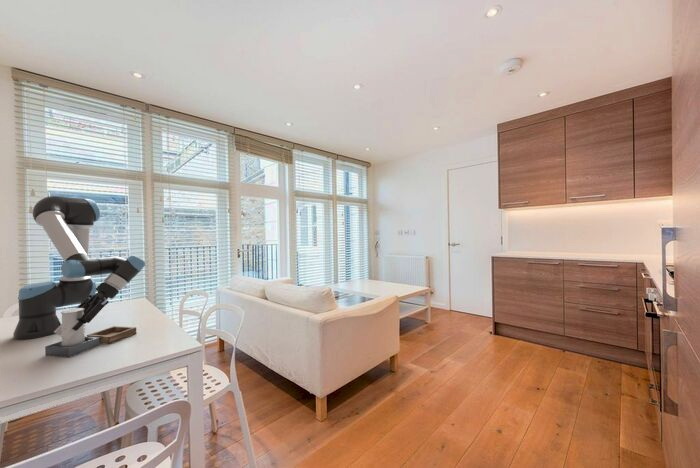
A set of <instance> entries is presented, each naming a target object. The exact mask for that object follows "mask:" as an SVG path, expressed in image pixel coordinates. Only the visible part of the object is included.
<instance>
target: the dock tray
mask: <svg viewBox="0 0 700 468" xmlns="http://www.w3.org/2000/svg"><path fill="white" fill-rule="evenodd" d="M134 335H137V327H136V326H123V325H122V326H119V325H113V326H110V327H108V328H104V329H101V330H99V331H96V332H93V333H89V334H86V337H98V338H99V344H104V345H105V344H107V345H112V344H115V343H116V342H119V341H121V340H124V339H127V338H130V337H132V336H134Z"/></svg>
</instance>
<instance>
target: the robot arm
mask: <svg viewBox="0 0 700 468" xmlns="http://www.w3.org/2000/svg"><path fill="white" fill-rule="evenodd" d="M32 218H33V221H35V222H36V224H37V225H38V226H40V227H42V228H43V230H44V231H45V233H46V234H47V237H48V238H49V239H50V241H51V244H53V246H54V247H55V249H56V250H57V252H58V254H59V255H60V257H61V258H62V260H63V263H61V267H60V270H61V274H62V275H61V276H60V277H59V279H58V280H59V282H57V283H56V281H53V280H52V281H51V280H50V281H42V282H36V283H31V284H28V285H24V286H23V287H21V288H19V290H18V297H17V300H18V322H17V324H16V327H15V329H14V331H13V335H12V336H13V339H14V340H18V341H19V340H30V339H31V340H32V339H36V338H42V337H46V336H50V335H53V334H56V335H58V336H60V337H61V336H63V337H65V338H67V339H69V338H70V337H71V336H72V335H73V334H74V333H75V332H76V331H77V330H78V329H79V328H80V327H81V326H82V325H83V324H84V325H85V324H86V323H88V324H89V323H90V322H91V321H92V320H94V318H95V317H96V316H97V315H98V314H99V313H100V311H102V309H103V308H104V307H106V306H107V305H108V304H109V303H110V301H109V300H108V298H109V299H114V298H115V297H116V296H117V295H118V294H119V292H120V291H122V290H123V289H124V288H126V287H127V285H128V284H129V283H130V282H131V281H132V280H133V279H134V278H135V277H136V276H137V275H138V274H139V273H140V272H141V271H142V270H143V268H145V266H146V262H145V261H144V260H143V259H142V258H140V257H139V256H137V255H135V254H132V255H130V256H128V257H127V258H123V257H120V256H118V255H112V254H111V255H110V254H109V255H106V256H103V257H95V258H94V257H93V258H90V257H89V245H90V230H91V228H92V227H93V226H94V225H95V222H97V221H99V220H100V218H101V209H100V206H99V205H98V204H97V202H96V201H95V200H93V199H90V198H84V197H69V196H59V195H50V196H46V197H44V198H41V199H40V200H38V201H37V202H36V203H35V205H34V206H33V207H32ZM108 274H109V275H108ZM101 275H108V276H107V277H106V278H105V279H104V282H101V283H100V284H98V286H97V284H96V281H95V280H93V279H92V277H91V276H101ZM72 305H78V306H76V307H75V308H84V314H83V315H82V317H81V318H78V319H77V321H75V322H74V323H73V324H72V325H71V326H70V327H69V328H68V329H67V330H66V331H65V332H64V333H63V334H62V335H61V325H62V322H61V321H60V319H59V317H58V315H57V308H63V307H66V306H67V307H68V306H72Z"/></svg>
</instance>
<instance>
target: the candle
mask: <svg viewBox="0 0 700 468" xmlns="http://www.w3.org/2000/svg"><path fill="white" fill-rule="evenodd" d="M60 314H61V335H62V334H63V333H64V332H65V331H66V330H67V329H68V328H69V327H70V326H71V325H72V324H73V323H74V322H75V321H77V319H78V318H81V317H82V315H83V314H84V308H76V307H75V308H69V309H64V310H62V311H60ZM85 327H86V325H85V324H83V325H82V326H81V327H80V328H79V329H78V330H77V331H76V332H75V333H74V334H73V335H72V336H71V337H70V338H69V339H67V338H65V337H63V336H61V335H60V337H61V341H62V343H61V345H62V346H65V347H71V346H74V345H77V344H80V343H82V342H84V341H85V337H86V336H85V332H86V331H85V330H86V328H85Z"/></svg>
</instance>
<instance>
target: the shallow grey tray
mask: <svg viewBox="0 0 700 468" xmlns="http://www.w3.org/2000/svg"><path fill="white" fill-rule="evenodd" d="M84 337H85V341H84V342H82V343H80V344H77V345H74V346H71V347H65V346H62V345H61V343H62V340H61V341H58V342H55V343H52V344H49V345H46V346H44V350H45V351H44V355H45V357H57V358H66V359H67V358H68V359H69V358H71V357H74V356H76V355H79V354H82V353H85V352H87V351H90V350H93V349H95V348H97V347H99V346H100V343H99V338H98V337H87V336H84Z"/></svg>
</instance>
